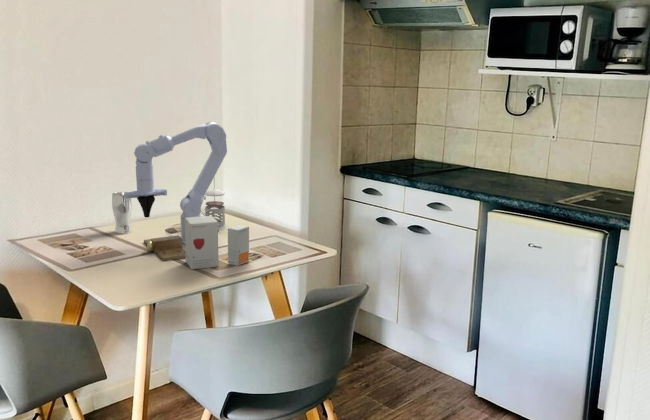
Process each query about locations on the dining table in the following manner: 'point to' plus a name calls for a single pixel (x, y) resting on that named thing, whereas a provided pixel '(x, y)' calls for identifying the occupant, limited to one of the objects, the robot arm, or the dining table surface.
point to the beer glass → (121, 212)
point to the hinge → (168, 247)
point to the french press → (215, 204)
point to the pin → (150, 246)
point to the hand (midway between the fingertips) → (146, 216)
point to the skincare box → (238, 245)
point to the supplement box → (201, 242)
